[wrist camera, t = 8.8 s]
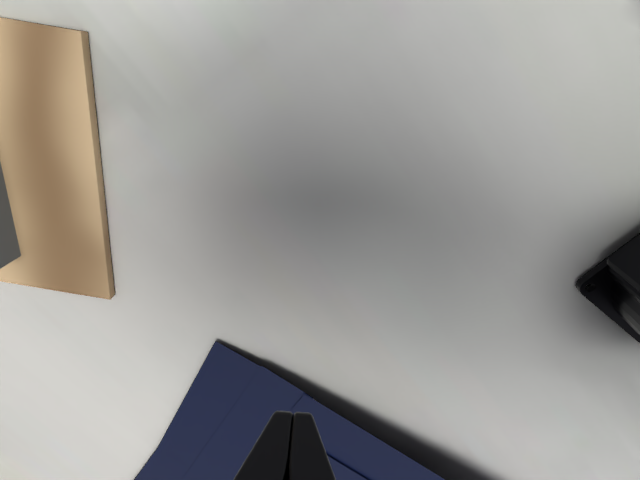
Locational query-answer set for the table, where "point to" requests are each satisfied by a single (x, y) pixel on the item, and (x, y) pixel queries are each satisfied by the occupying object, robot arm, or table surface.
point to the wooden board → (53, 160)
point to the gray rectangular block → (7, 228)
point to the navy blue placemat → (260, 428)
